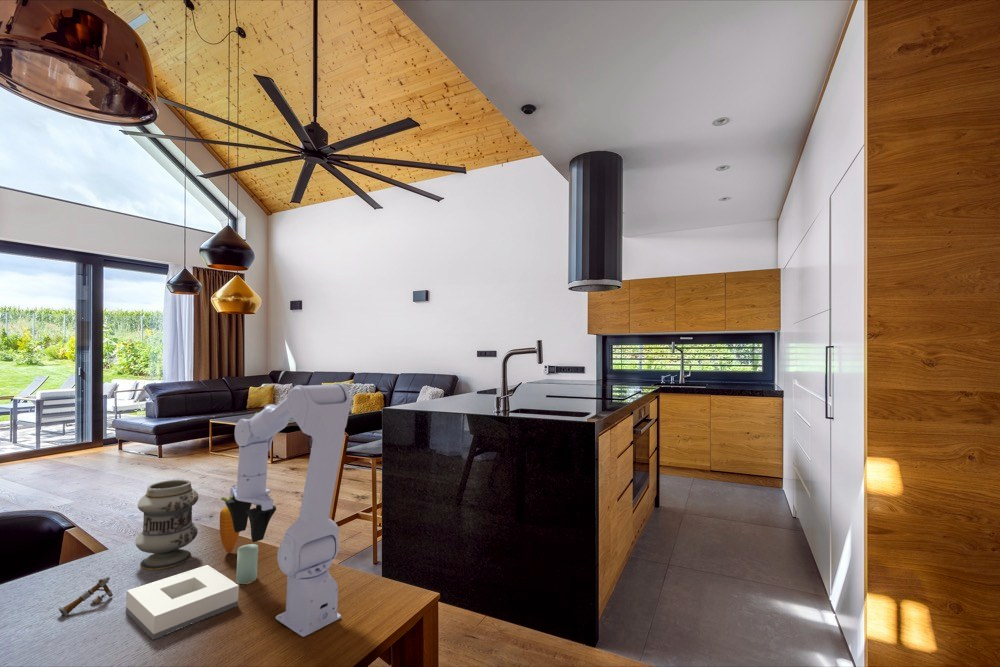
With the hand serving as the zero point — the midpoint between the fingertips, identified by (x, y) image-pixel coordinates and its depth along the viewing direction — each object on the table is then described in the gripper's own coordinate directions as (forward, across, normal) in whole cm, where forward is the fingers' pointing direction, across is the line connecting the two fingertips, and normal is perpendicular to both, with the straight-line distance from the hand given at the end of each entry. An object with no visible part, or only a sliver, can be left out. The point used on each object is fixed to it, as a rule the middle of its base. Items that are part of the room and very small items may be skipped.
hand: (248, 535), depth 102 cm
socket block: (+10, -2, +13) cm, 16 cm away
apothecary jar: (+10, +24, +7) cm, 27 cm away
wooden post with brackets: (+10, +13, +24) cm, 29 cm away
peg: (+10, 0, 0) cm, 10 cm away
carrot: (+10, +17, -4) cm, 20 cm away
